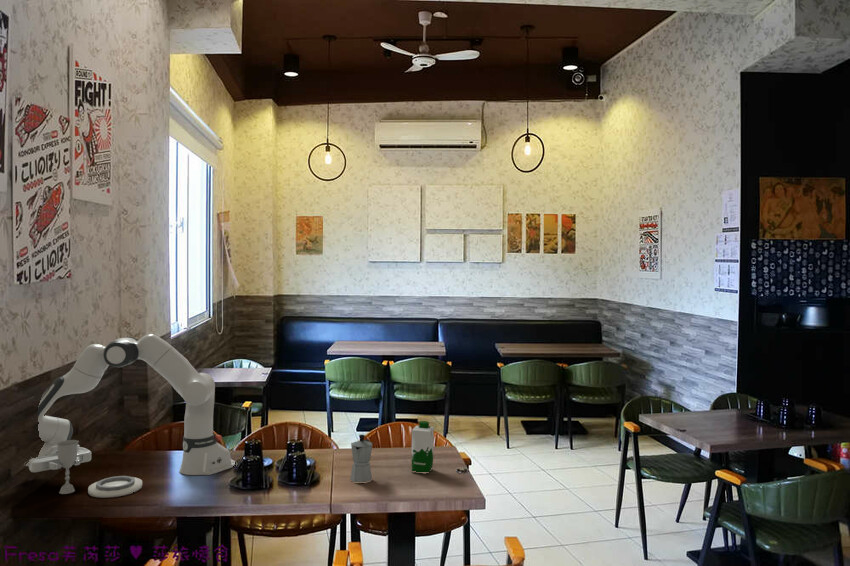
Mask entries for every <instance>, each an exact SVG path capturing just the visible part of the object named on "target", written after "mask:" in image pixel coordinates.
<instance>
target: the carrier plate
mask: <svg viewBox="0 0 850 566" xmlns="http://www.w3.org/2000/svg"><path fill="white" fill-rule="evenodd" d="M142 488H143V480H142V478H141V479H140V478H138V477H134V476H129V475H118V476H110V477H106V478H104V479H99V480H98V481H95V482H94V483H92V484H90V485H89V486H88V488H87V493H88V495H89V496H91V497H94V498H102V499H104V498H106V499H107V498H109V499H110V498H117V497H121V496H127V495H131V494H134V493H136V492H138V491H140V490H141V489H142ZM133 492H134V493H133Z"/></svg>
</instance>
